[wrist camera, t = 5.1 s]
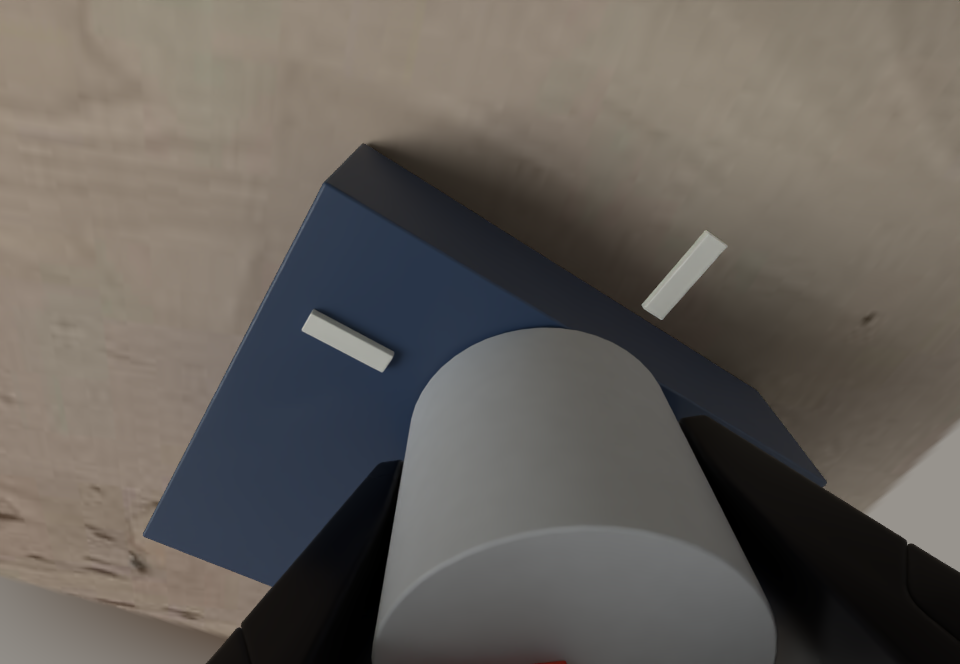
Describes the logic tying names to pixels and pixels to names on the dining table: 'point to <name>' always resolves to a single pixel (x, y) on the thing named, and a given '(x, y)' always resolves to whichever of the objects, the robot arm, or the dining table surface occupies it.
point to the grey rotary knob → (560, 520)
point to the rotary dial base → (397, 361)
